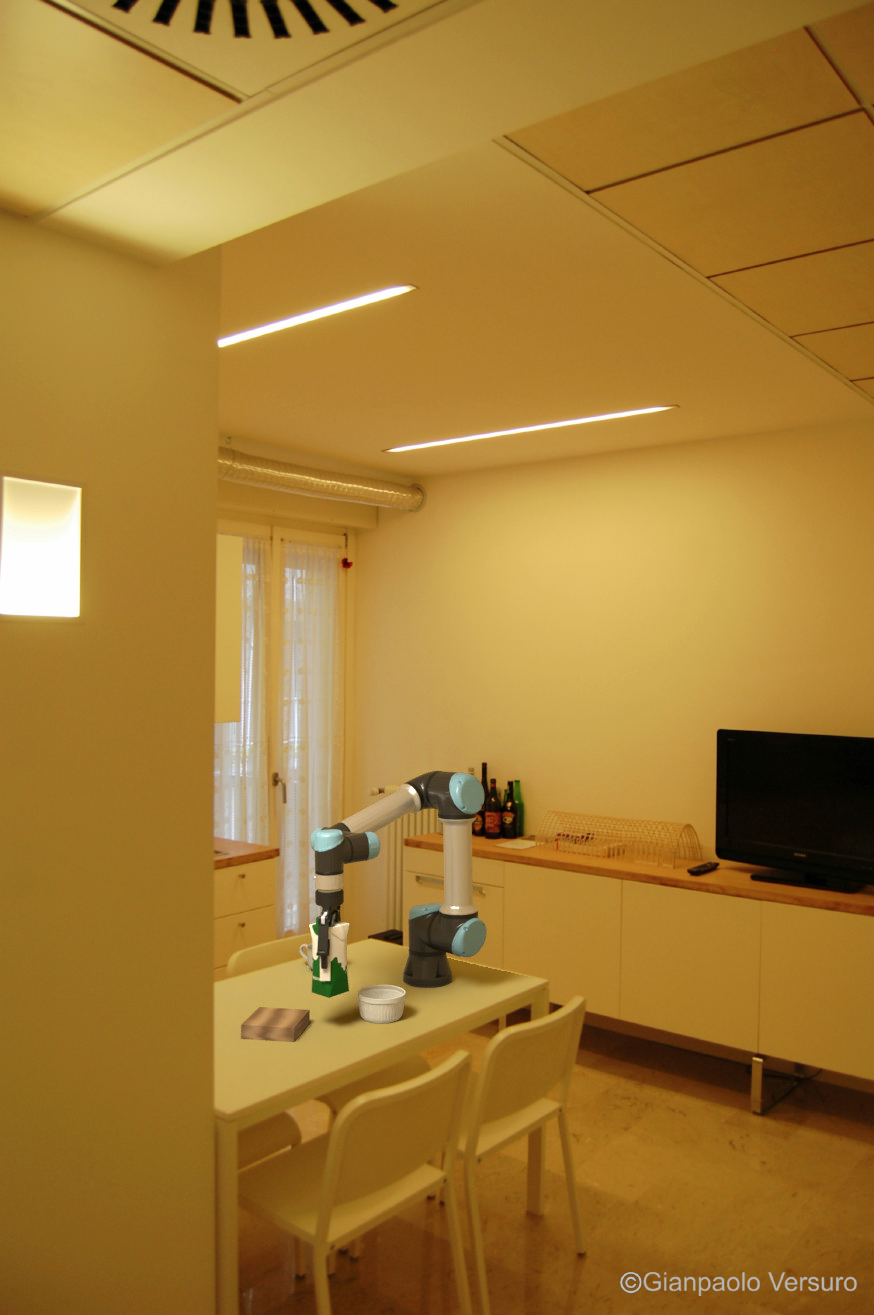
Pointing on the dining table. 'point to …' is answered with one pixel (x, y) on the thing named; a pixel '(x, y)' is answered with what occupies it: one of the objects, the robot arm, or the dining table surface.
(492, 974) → the dining table surface
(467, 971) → the dining table surface
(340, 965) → the soya milk
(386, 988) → the ramekin
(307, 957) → the teacup
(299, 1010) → the plinth
